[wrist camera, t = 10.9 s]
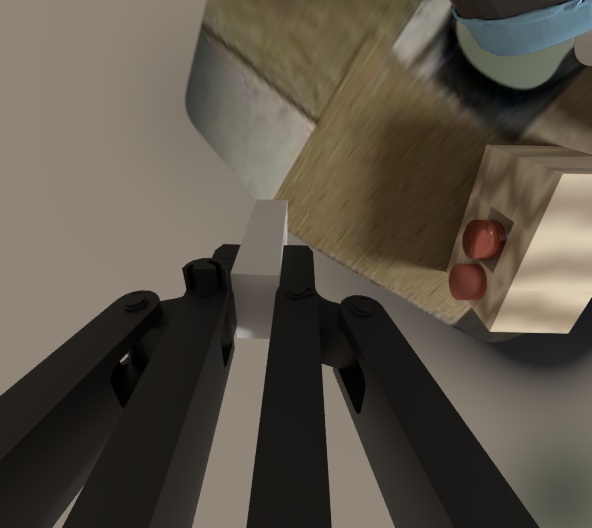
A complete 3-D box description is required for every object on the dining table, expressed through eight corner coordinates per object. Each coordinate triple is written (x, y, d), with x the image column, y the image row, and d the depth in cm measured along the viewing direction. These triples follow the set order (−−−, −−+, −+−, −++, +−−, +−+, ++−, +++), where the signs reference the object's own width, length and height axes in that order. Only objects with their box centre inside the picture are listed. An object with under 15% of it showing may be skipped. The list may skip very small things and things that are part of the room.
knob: (458, 247, 43) (475, 266, 39) (469, 213, 40) (489, 229, 36) (549, 249, 43) (576, 268, 39) (566, 215, 40) (597, 232, 36)
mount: (467, 144, 41) (536, 173, 29) (562, 146, 41) (669, 176, 29) (430, 271, 52) (470, 331, 40) (506, 273, 52) (568, 333, 40)
